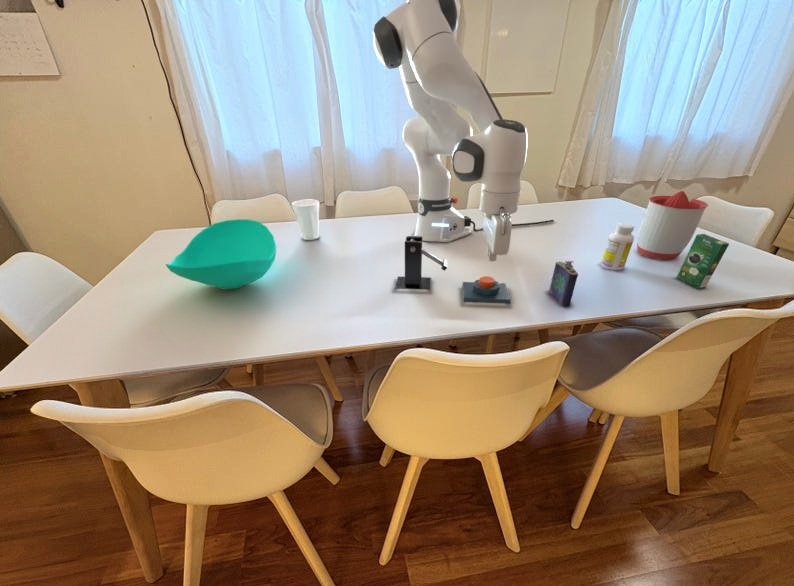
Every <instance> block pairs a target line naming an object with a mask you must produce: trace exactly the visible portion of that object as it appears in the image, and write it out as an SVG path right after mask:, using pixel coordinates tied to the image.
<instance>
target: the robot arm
mask: <svg viewBox="0 0 794 586" xmlns="http://www.w3.org/2000/svg"><path fill="white" fill-rule="evenodd" d="M458 25H459V12H458V5H457V1H456V0H406V2H404V3H403V4H401V5H400V6H398V7H397V8H395V9H394V10H392V11H391V12H390V13H389V14H387V15H386V16H385V15H384V16H382V17H381V18H379V20H378V21H377V22H376V23H375V24H374V26H373V30H372V35H373V37H372V38H373V47H374V51H375V53H376V56H377V58H378V59H379V61H380V62H381V63H382V64H383V66H384V67H385V68H387V69H389V70H392V69H397V68H399V72H400V77H401V79H402V83H403V86H404V91H405V94H406V96H407V100H408V103H409V106H410V107H411V109H412V110H413V111H414V112H415V113H416V114H418V116H414V117H411V118H408V119H407V120H406V122H405V124H404V126H403V129H402V140H403V143H404V145H405V147H406V148H407V149H408V151H409V152H410V153H411V155H412V157H413V159H414V162H415V165H416V168H417V173H418V197H417V221H416V226H415V230H414V234H413V236H422V241H425V242H437V243H438V242H439V243H441V242H442V243H449V242H452V241H455V240H458V239H460V238H463V237H465V236H468V235H470V234H471V229H470V228H468V227H471V226H472V225H473V226H472V230H473V231H474V232H478V231H483V233H484V236H485V239H486V241H487V258H488V261H489V262H496V261H497V256H506V255H508V253H509V250H510V247H511V246H510V245H511V237H512V227H521V226H531V225H539V224H547V223H552V222H554V221H555V220H554V219H549V220H542V221H534V222H525V223H512V219H511V218H512V215H513V214H515V213H517V212H518V210H519V209H518V208H519V203H520V197H521V192H522V191H521V190H522V184H521V183H522V182H521V179H522V175H523V172H524V170H525V166H526V159H527V154H528V153H527V152H528V131H527V128H526V126H525V125H524V124H523V123H521V122H519V121H517V120H512V119H505V118H503V117H502V115H501V113H500V111H499V109H498V107H497V105H496V103H495V101H494V100H493V98H492V96H491V94H490V92H489V90H488V89H487V87H486V84H485V83H484V82H483V80H482V78H481V77H480V76H479V74H478V73H477V72H476V70H474V68H473V67H472V66H471V65H470V63H469V61H468V60H467V58H466V56H465V55H464V53H463V52H462V50H461V48H460V46H459V44H458V42H457V40H456V38H455V35H454V34H455V33H456V31H457V29H458ZM454 105H455V106H458V107H459V108H461V109H462V110H463V111H465V112H466V113H467V114H468V116H469V117H470V119H471V121H472V123H473V125H474V127H475V129H476V131H477V132H478V133H475V134H473V128H472V125H471V123H470V122H469V120H467V119H466V118H465V117H463V116H462V115H461V114H460V113H459V112H458V110H456V108H455V107H454ZM440 156H447V157H448V156H449V157H451V167H452V172H453V174H454V175H455V177H456V179H458V181H461V182H464V183H474V182H480V183H481V188H480V189H481V190H480V198H479V208H478V209H479V211H480V212H481V226H482V228H480V229H477V228H476V223H475V222H474V221H473V220H472V218H470V217H469V216H467V215H463V214H461V212H459V211H458V210H457V209H456V208H454V207H453V204H458V202H459V198H457V197H455V196H453V197H451V196H450V190H451V174H450V171H449V170H448V168H446V166H445V165H444V164H443V162H442V160H441V157H440ZM471 224H472V225H471Z"/></svg>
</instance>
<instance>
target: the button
mask: <svg viewBox="0 0 794 586" xmlns="http://www.w3.org/2000/svg"><path fill="white" fill-rule="evenodd" d="M478 280H479V286H480V287H483V288H492V287H494V282H495V281H496V280H495V278H494V277H492V276H481V277H479V279H478Z"/></svg>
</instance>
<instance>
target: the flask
mask: <svg viewBox="0 0 794 586" xmlns="http://www.w3.org/2000/svg"><path fill="white" fill-rule="evenodd" d="M572 263H575V261H574V260H565V261H564V262H563V261H556V262H555V263H554V264H555V265H554V269H553V273H552V277H551V281H550V285H549V290H548V295H549V296H551V297H553V299H554V300H556V301H557V303H559V305H561V306H562V307H564V308H569V307H570V306H571V303H572V298H573V296H574V290H575V287H576V283H577V280H578V277H579V273H578V272H577V270H576V269H575V268H574V266H573V265H572Z"/></svg>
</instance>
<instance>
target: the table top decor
mask: <svg viewBox="0 0 794 586" xmlns="http://www.w3.org/2000/svg"><path fill="white" fill-rule="evenodd" d="M276 255H277V245H276V239H275V237H274V235H273V233H272V231H270V229H269V228H268V227H267V226H265V225H264V224H263V223H262V222H260V221H258V220H253V219H247V218H246V219H244V218H243V219H241V218H240V219H239V218H238V219H228V220H223V221H220V222H215V223H213V224H211V225H209V226H207V227H205V228H204V229H202V230H201V231H200V232H199V233H197V234H196V235H195V236H194V237H192V239H191V240H190V242H189V243H188V244H187V245H186V247H185V248H184V250H182V251H181V252H180V253H179V254H177V255H176V256H175V257H174V259H173V260H172V261H171V262H170V263H167V262H166V263H165V266H166V268H167V269H169V271H170V272H171V273H173V274H175V275H176V276H178V277H181V278H183V279H187V280H189V281H193V282H197V283H200V284H203V285H207V286H210V287H213V288H218V289H222V290H237V289H239V288H241V287H243V286H245V285H247V284H251V283H254V282H255V281H257V280H259V279H261V278H263V276H265V274H266V273H268V271H269V270H270V269H271V267H272V266H273V263H274V262H275V260H276Z"/></svg>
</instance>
